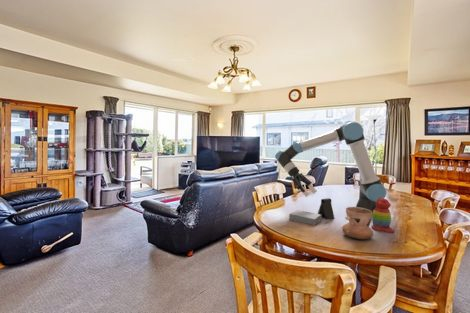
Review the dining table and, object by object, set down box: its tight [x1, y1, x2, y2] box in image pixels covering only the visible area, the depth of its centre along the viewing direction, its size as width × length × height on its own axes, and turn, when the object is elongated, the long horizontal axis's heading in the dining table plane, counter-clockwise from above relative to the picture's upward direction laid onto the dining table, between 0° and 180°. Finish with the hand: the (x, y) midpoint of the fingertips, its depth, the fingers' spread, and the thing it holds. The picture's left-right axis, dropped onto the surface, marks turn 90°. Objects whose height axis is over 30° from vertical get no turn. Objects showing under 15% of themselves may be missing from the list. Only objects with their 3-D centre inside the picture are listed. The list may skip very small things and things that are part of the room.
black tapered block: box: [317, 197, 335, 220], centre depth 164 cm, size 9×6×12 cm, turn 25°
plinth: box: [288, 209, 322, 226], centre depth 159 cm, size 16×12×4 cm
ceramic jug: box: [341, 206, 374, 240], centre depth 132 cm, size 18×14×14 cm
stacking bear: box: [371, 197, 395, 234], centre depth 143 cm, size 11×10×18 cm
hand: (311, 194), depth 170 cm, fingers open, 13 cm apart
